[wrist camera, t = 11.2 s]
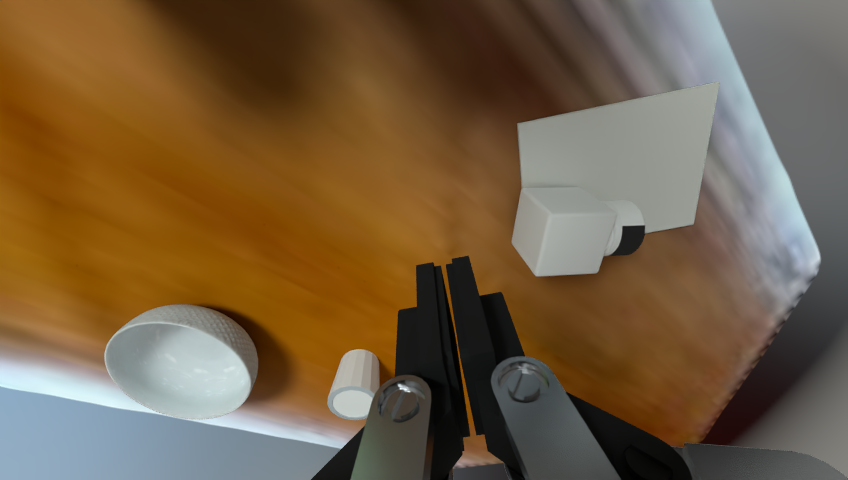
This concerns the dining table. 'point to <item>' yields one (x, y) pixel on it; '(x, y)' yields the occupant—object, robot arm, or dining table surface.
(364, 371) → the shot glass
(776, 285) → the dining table surface
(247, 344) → the cereal bowl
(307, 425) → the dining table surface
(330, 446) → the dining table surface
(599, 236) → the medicine bottle
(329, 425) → the dining table surface
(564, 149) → the mat
